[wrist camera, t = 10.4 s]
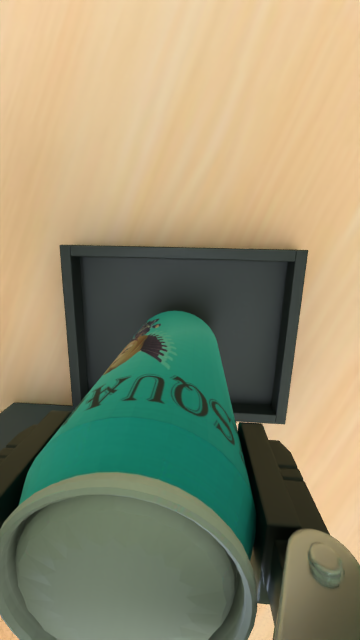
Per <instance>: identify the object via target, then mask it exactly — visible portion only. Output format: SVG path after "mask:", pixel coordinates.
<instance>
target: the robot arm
mask: <svg viewBox="0 0 360 640" xmlns="http://www.w3.org/2000/svg"><path fill="white" fill-rule="evenodd" d="M71 414H72V412H71V411H55V410H52V411H50V412H49V413H48V414H47V415H46V416H45V417H44V418H43V419H42V420H41V421H40V422H39V423H38V425H37V424H33V425H32V426H30V427H28V428H27V429H25V430H23V431H22V432H20V433H18V434H17V435H16V436H15V437H14V438H13V439H12V440H11V441H10V442H9V443H8V444H7V445H6V448H3V449H2V450H1V451H0V528H1V527H2V525H3V523H4V521H5V520H6V519H7V518H8V517H9V516H10V515H11V513H12V512H13V511H14V510H15V509H16V508H17V507H18V506H19V502H20V498H21V494H22V490H23V486H24V482H25V479H26V476H27V473H28V471H29V469H30V467H31V465H32V463H33V462H34V460H35V458H36V457H37V456H38V454H39V453H40V452H41V451H42V449H43V448H44V447H45V446H46V444H47V443H48V442H49V441H50V440H51V438H52V437H53V436H54V435H55V433H56V432H57V431H58V430H59V428H60V427H61V426H62V425H63V423H64V422H65V421H66V420H67V418H68V417H69V416H70V415H71ZM238 435H239V440H240V444H241V448H242V453H243V457H244V461H245V466H246V470H247V474H248V479H249V483H250V487H251V492H252V496H253V500H254V505H255V509H256V516H257V517H256V535H255V540H254V546H253V551H252V555H251V560H250V563H251V565H252V568H253V572H254V576H255V580H256V584H257V603H261V604H270V606H271V611H272V616H273V621H274V626H275V627H274V633H273V640H360V565H359V563H358V562H357V560H356V559H355V557H354V556H353V555H352V554H351V553H350V551H349V550H348V549H347V548H346V547H345V546H344V545H343V544H341V543H340V542H339V541H338V540H336V539H335V538H333V537H332V536H330V534H329V532H328V530H327V528H326V526H325V524H324V522H323V520H322V517H321V515H320V513H319V511H318V509H317V507H316V505H315V503H314V501H313V498H312V496H311V494H310V492H309V490H308V488H307V486H306V484H305V482H304V481H303V477H302V475H301V473H300V471H299V469H297V465H296V463H295V461H294V459H293V456H292V454H291V452H290V451H289V450H288V449H287V448H286V447H285V446H284V445H283V444H282V443H281V442H280V441H276V440H268V438H267V435H266V433H265V430H264V427H263V425H262V424H259V423H243V422H240V423H239V425H238Z"/></svg>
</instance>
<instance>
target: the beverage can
mask: <svg viewBox="0 0 360 640" xmlns="http://www.w3.org/2000/svg"><path fill="white" fill-rule="evenodd" d="M256 517H257V516H256V509H255V505H254V500H253V496H252V492H251V487H250V483H249V479H248V474H247V470H246V466H245V461H244V457H243V453H242V448H241V444H240V440H239V435H238V431H237V427H236V422H235V418H234V414H233V409H232V405H231V401H230V396H229V392H228V388H227V383H226V379H225V374H224V370H223V366H222V361H221V357H220V353H219V348H218V344H217V340H216V338H215V335H214V333H213V332H212V330H211V329H210V327H209V326H208V325H207V324H206V323H205V322H204V321H203V320H201V319H200V318H198V317H197V316H195V315H193V314H190V313H187V312H183V311H167V312H163V313H160V314H157V315H155V316H154V317H152V318H150V319H149V320H148V321H147V322H145V323H144V325H143V326H142V327H141V328H140V329H139V331H138V332H137V333H136V334H135V336H134V337H133V338H132V339H131V340H130V342H129V343H128V344H127V345H126V347H125V348H124V349H123V350H122V352H121V353H120V354H119V355H118V357H117V358H116V359H115V360H114V362H113V363H112V364H111V365H110V366H109V368H108V369H107V370H106V371H105V373H104V374H103V375H102V376H101V378H100V379H99V380H98V381H97V383H96V384H95V385H94V386H93V388H92V389H91V390H90V391H89V392H88V394H87V395H86V396H85V397H84V399H83V400H82V401H81V402H80V404H79V405H78V406H77V407H76V409H75V410H74V411H73V412H72V414H71V415H70V416H69V417H68V418H67V420H66V421H65V422H64V423H63V425H62V426H61V427H60V428H59V430H58V431H57V432H56V433H55V435H54V436H53V437H52V438H51V440H50V441H49V442H48V443H47V444H46V446H45V447H44V448H43V449H42V451H41V452H40V453H39V454H38V456H37V457H36V458H35V460H34V462H33V463H32V465H31V467H30V469H29V471H28V473H27V476H26V479H25V482H24V486H23V490H22V494H21V498H20V502H19V506H18V507H17V508H16V509H15V510H14V511H13V512H12V513H11V515H10V516H9V517H8V518H7V519H6V520H5V521H4V523H3V525H2V527H1V528H0V615H1V617H2V619H3V620H4V622H5V623H6V624H7V626H8V627H9V628H10V630H11V631H12V632H13V633H14V634H15V635H16V636H17V637H18V638H19V639H20V640H248V638H249V635H250V633H251V631H252V629H253V626H254V622H255V617H256V612H257V584H256V580H255V576H254V572H253V568H252V565H251V563H250V560H251V555H252V551H253V546H254V540H255V535H256Z"/></svg>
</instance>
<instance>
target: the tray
mask: <svg viewBox="0 0 360 640" xmlns="http://www.w3.org/2000/svg"><path fill="white" fill-rule="evenodd" d="M307 255H308V250H279V249H232V248H186V247H140V246H93V245H60V256H61V268H62V281H63V293H64V305H65V317H66V330H67V342H68V354H69V367H70V379H71V391H72V403H73V411H74V410H75V409H76V407H77V406H78V405H79V404H80V402H81V401H82V400H83V399H84V397H85V396H86V395H87V394H88V392H89V391H90V390H91V389H92V388H93V386H94V385H95V384H96V383H97V381H98V380H99V379H100V378H101V376H102V375H103V374H104V373H105V371H106V370H107V369H108V368H109V366H110V365H111V364H112V363H113V362H114V360H115V359H116V358H117V357H118V355H119V354H120V353H121V352H122V350H123V349H124V348H125V347H126V345H127V344H128V343H129V342H130V340H131V339H132V338H133V337H134V336H135V334H136V333H137V332H138V331H139V329H140V328H141V327H142V326H143V325H144V323H145V322H147V321H148V320H149V319H150V318H152V317H154V316H155V315H157V314H160V313H163V312H167V311H183V312H187V313H190V314H193V315H195V316H197V317H198V318H200V319H201V320H203V321H204V322H205V323H206V324H207V325H208V326H209V327H210V329H211V330H212V332H213V333H214V335H215V338H216V340H217V344H218V348H219V353H220V357H221V361H222V366H223V370H224V374H225V379H226V383H227V388H228V392H229V396H230V401H231V405H232V409H233V414H234V418H235V421H239V422H256V423H272V424H285V420H286V413H287V405H288V398H289V390H290V383H291V375H292V368H293V360H294V353H295V345H296V338H297V330H298V323H299V315H300V308H301V300H302V293H303V285H304V278H305V270H306V263H307Z"/></svg>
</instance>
